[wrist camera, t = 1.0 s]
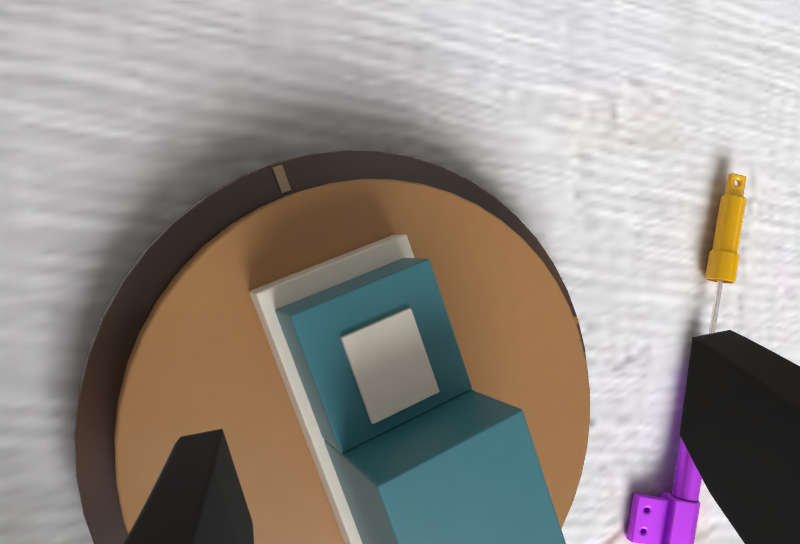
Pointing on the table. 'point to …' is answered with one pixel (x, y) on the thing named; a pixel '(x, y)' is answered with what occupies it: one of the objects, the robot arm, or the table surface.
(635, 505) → the purple and yellow rod
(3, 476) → the table surface
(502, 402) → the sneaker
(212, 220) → the display base
